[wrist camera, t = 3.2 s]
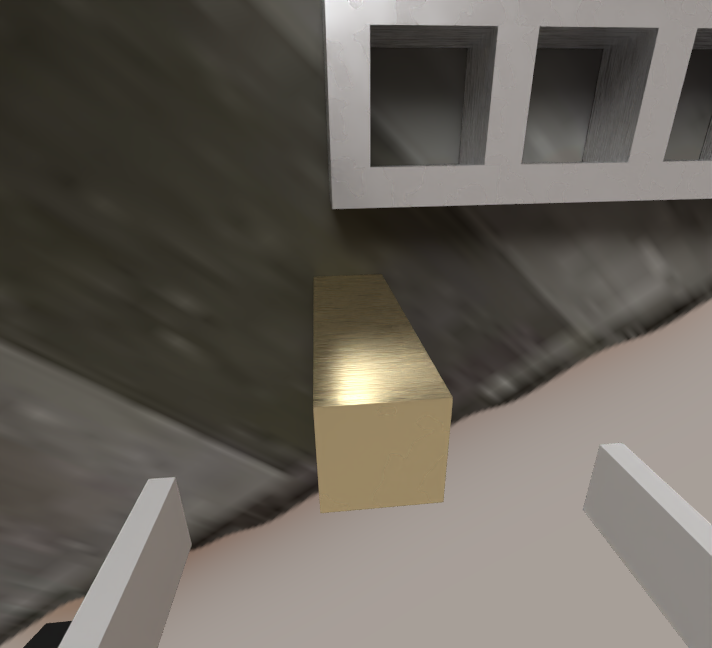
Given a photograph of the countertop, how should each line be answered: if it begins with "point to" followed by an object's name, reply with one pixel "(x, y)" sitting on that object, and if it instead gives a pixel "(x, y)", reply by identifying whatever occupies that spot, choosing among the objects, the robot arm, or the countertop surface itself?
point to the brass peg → (374, 401)
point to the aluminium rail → (520, 99)
